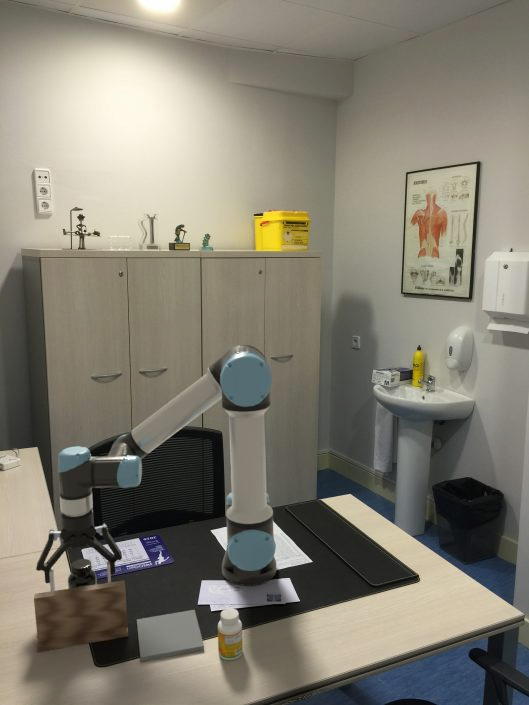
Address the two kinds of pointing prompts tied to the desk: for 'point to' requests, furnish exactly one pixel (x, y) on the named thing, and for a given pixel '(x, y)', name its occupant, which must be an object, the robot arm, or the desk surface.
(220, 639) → the supplement bottle
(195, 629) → the slate mat
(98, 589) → the walnut screen
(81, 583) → the supplement bottle
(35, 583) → the desk surface
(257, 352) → the robot arm
